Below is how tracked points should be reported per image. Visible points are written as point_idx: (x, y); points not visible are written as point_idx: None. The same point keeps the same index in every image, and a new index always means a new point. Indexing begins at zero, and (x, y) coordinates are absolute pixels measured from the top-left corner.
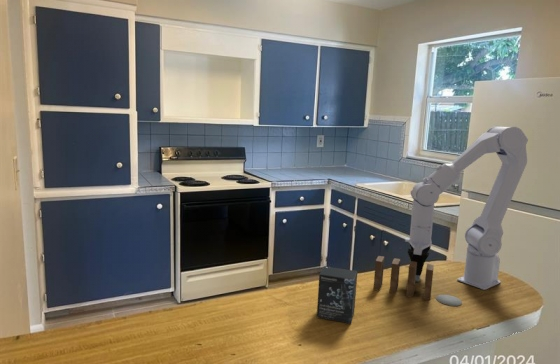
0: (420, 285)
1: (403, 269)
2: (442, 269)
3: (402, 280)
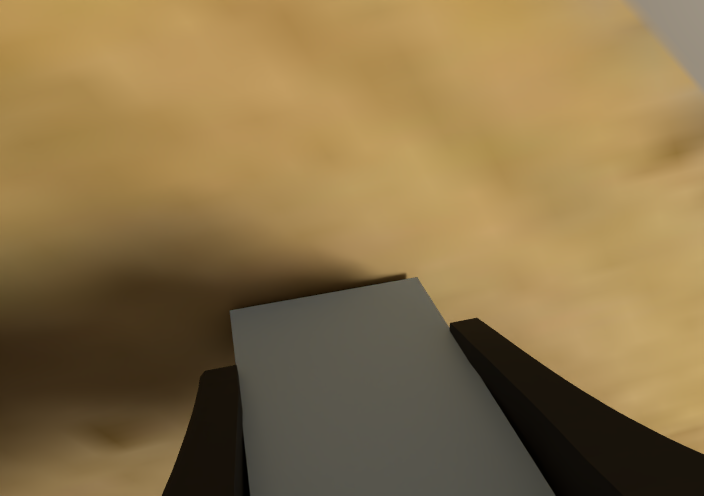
0: (158, 391)
1: (582, 110)
2: (681, 403)
3: (170, 198)
